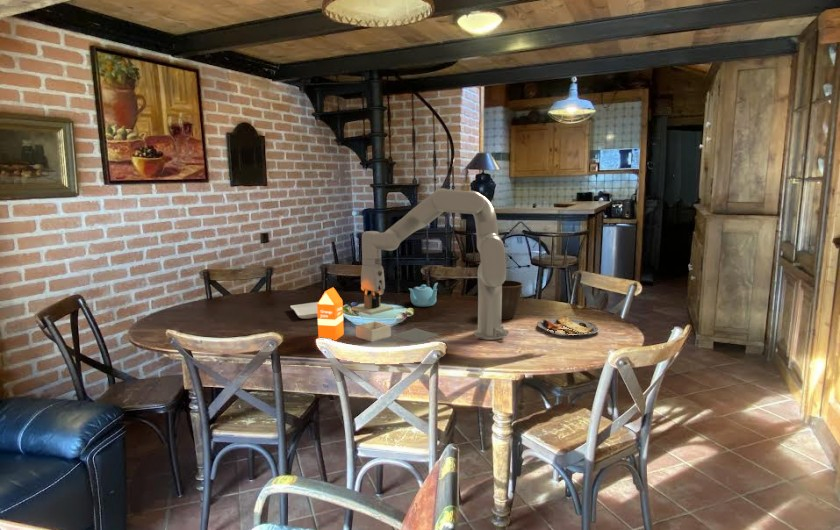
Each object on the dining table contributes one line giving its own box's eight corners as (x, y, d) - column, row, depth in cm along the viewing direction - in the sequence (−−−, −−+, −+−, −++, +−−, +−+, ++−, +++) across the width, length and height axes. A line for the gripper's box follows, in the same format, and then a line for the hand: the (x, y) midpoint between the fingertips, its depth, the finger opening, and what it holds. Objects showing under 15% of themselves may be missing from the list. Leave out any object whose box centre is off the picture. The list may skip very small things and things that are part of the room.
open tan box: (391, 337, 213) (390, 325, 212) (372, 342, 206) (372, 330, 205) (375, 332, 220) (374, 320, 219) (356, 337, 213) (356, 325, 212)
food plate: (527, 324, 228) (527, 317, 228) (571, 320, 237) (572, 312, 236) (561, 343, 205) (562, 334, 205) (609, 336, 214) (610, 328, 213)
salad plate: (298, 322, 238) (297, 314, 237) (289, 311, 257) (289, 304, 256) (343, 316, 246) (343, 309, 246) (331, 306, 266) (331, 300, 265)
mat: (439, 335, 214) (439, 334, 214) (415, 343, 204) (415, 342, 204) (415, 329, 224) (415, 328, 224) (391, 336, 214) (391, 335, 214)
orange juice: (344, 333, 218) (342, 287, 215) (336, 340, 210) (334, 291, 206) (326, 332, 220) (324, 286, 217) (318, 339, 211) (315, 291, 208)
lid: (393, 309, 211) (393, 294, 210) (370, 315, 202) (370, 299, 201) (374, 304, 219) (373, 290, 218) (351, 309, 211) (351, 295, 210)
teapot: (411, 300, 275) (411, 281, 274) (439, 301, 274) (439, 282, 272) (408, 307, 261) (407, 287, 259) (438, 308, 260) (438, 288, 258)
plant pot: (495, 322, 233) (496, 287, 230) (484, 314, 247) (485, 281, 245) (526, 320, 236) (527, 285, 233) (514, 312, 250) (515, 279, 248)
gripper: (392, 263, 205) (393, 309, 208) (365, 259, 216) (366, 302, 219) (378, 265, 199) (378, 312, 202) (351, 261, 211) (352, 305, 214)
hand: (372, 306), depth 211 cm, fingers closed on lid, 3 cm apart
